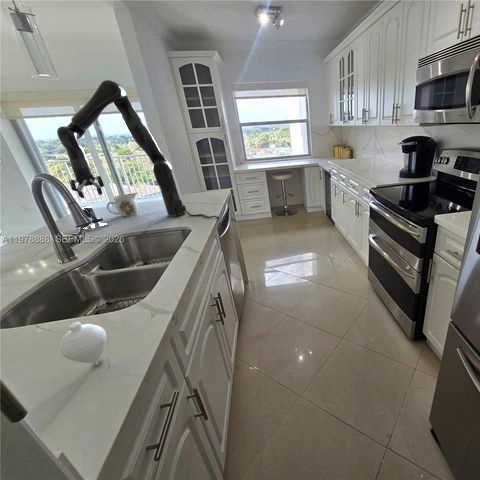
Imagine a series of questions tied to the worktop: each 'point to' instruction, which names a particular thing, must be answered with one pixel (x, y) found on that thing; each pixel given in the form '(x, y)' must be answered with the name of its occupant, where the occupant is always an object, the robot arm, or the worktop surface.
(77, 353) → the spinning top
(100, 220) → the lever
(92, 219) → the toaster bracket
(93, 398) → the worktop surface
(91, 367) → the worktop surface
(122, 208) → the pitcher
